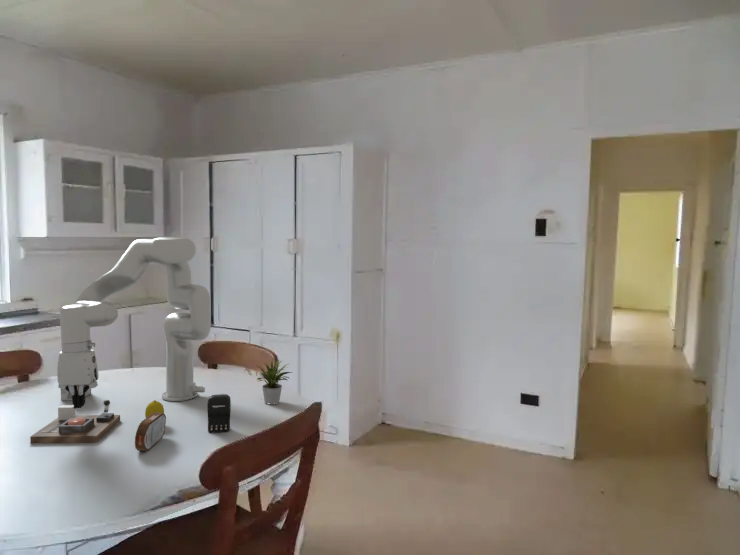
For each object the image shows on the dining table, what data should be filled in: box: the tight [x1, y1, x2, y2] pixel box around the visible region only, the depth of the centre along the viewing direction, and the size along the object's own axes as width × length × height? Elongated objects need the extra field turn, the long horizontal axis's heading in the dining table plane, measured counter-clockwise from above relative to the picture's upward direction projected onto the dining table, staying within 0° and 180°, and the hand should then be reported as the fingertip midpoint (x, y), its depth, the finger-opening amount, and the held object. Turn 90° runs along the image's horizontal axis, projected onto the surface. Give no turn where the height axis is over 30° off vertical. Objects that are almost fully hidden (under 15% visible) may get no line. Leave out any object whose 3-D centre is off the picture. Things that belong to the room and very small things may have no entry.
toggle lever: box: [103, 399, 111, 413], centre depth 165 cm, size 2×2×4 cm
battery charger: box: [206, 393, 232, 433], centre depth 161 cm, size 7×4×11 cm, turn 103°
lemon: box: [144, 400, 165, 419], centre depth 165 cm, size 6×6×8 cm
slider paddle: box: [57, 404, 76, 420], centre depth 163 cm, size 4×2×4 cm, turn 96°
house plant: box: [256, 358, 293, 404], centre depth 189 cm, size 14×14×16 cm
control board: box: [29, 412, 121, 444], centre depth 158 cm, size 18×18×4 cm
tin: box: [134, 412, 167, 452], centre depth 150 cm, size 15×3×8 cm, turn 178°
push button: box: [68, 418, 86, 425], centre depth 156 cm, size 5×5×2 cm
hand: (79, 406), depth 156 cm, fingers closed
